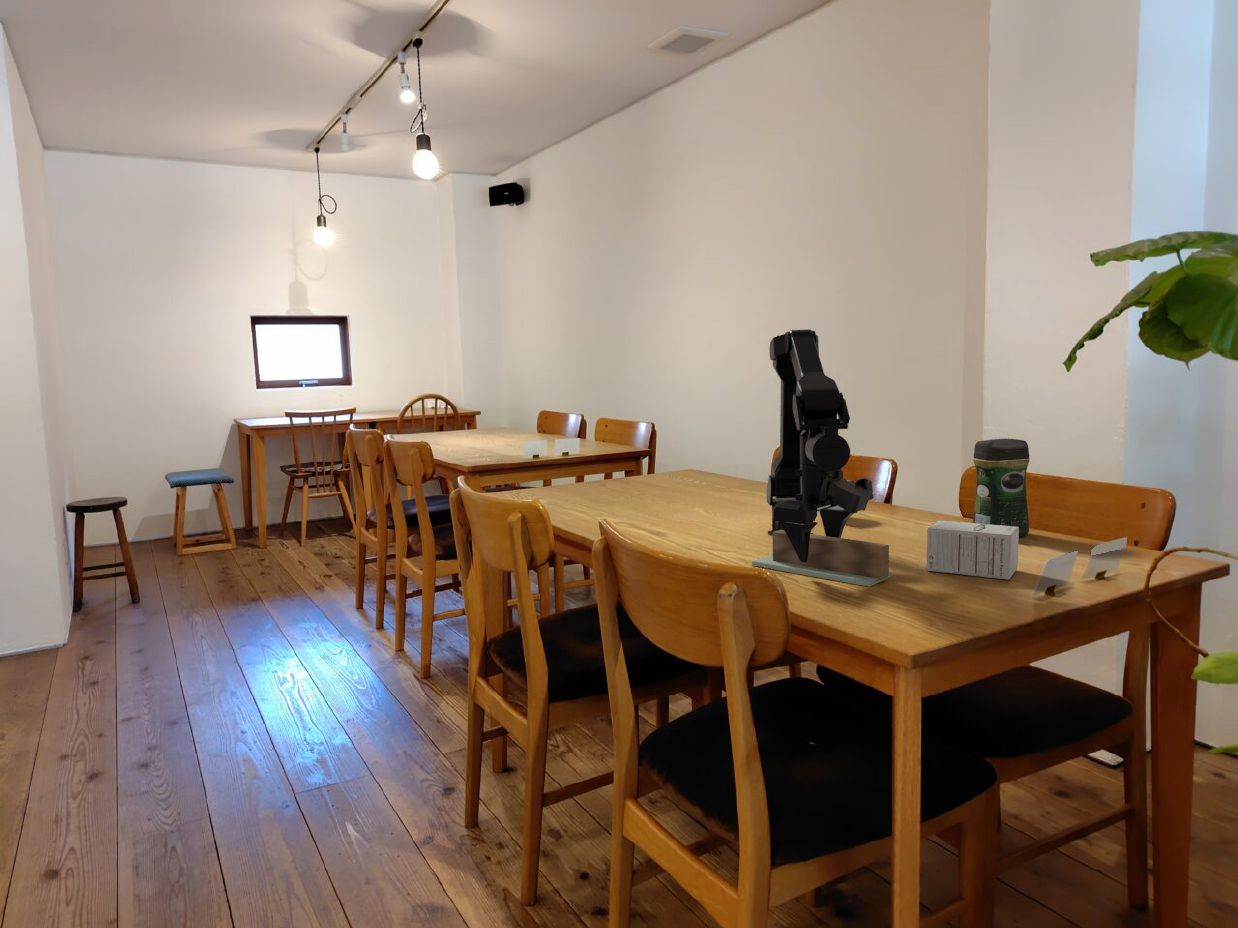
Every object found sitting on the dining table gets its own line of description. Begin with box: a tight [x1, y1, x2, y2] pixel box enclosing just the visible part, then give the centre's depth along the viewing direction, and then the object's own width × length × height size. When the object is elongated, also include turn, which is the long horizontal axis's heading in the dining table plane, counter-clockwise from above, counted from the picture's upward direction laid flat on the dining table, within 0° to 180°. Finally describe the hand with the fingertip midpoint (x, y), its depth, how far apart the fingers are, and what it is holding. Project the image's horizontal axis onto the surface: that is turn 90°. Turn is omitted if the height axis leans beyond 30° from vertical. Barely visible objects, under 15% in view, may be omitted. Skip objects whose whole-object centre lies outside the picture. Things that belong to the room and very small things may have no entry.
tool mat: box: [751, 553, 892, 588], centre depth 139 cm, size 22×7×1 cm, turn 46°
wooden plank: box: [771, 530, 890, 579], centre depth 137 cm, size 20×2×5 cm, turn 46°
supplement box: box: [926, 520, 1020, 581], centre depth 135 cm, size 7×7×13 cm
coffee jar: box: [972, 438, 1031, 537], centre depth 160 cm, size 10×8×19 cm
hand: (818, 556), depth 139 cm, fingers open, 9 cm apart
